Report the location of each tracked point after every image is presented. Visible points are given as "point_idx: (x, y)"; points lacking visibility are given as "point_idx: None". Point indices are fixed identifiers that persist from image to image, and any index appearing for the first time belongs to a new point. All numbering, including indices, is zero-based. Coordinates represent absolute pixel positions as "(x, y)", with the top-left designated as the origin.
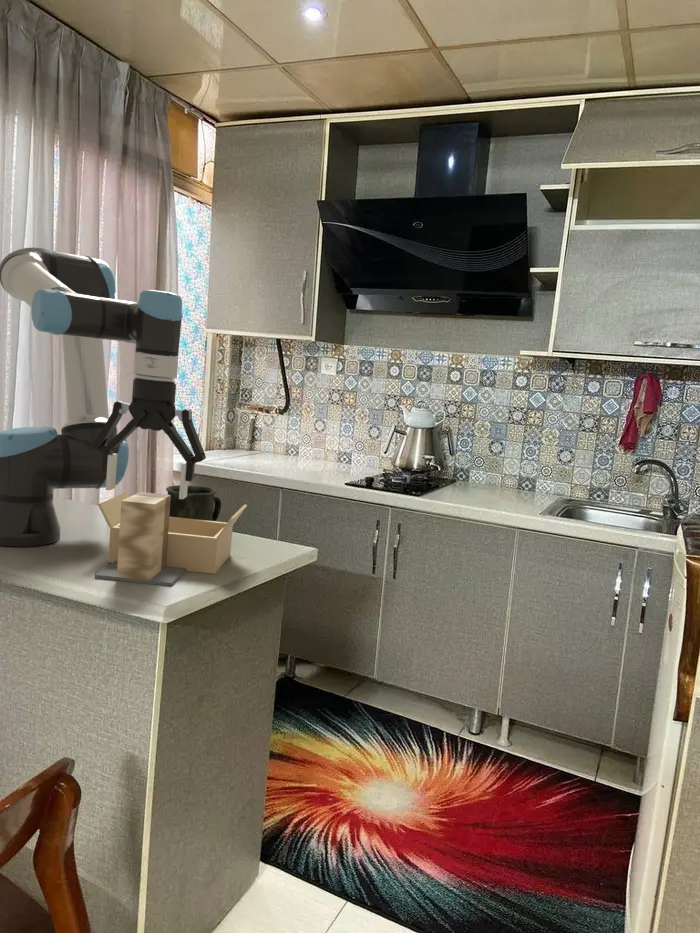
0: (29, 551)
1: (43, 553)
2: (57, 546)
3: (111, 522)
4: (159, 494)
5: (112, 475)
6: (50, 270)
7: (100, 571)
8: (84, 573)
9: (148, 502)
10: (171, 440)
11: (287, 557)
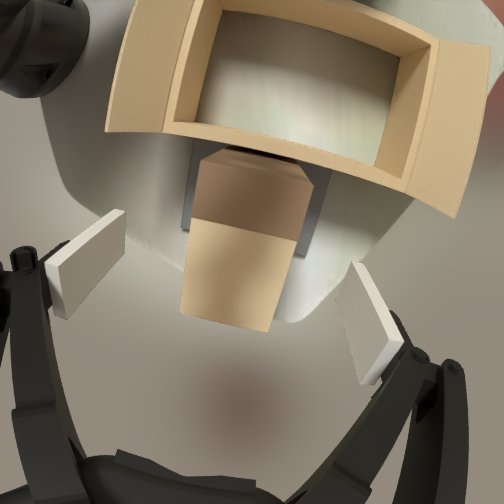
0: (64, 105)
1: (81, 108)
2: (91, 60)
3: (156, 121)
4: (273, 187)
5: (103, 259)
6: None
7: (184, 209)
8: (161, 203)
9: (249, 316)
10: (322, 464)
11: (489, 78)
